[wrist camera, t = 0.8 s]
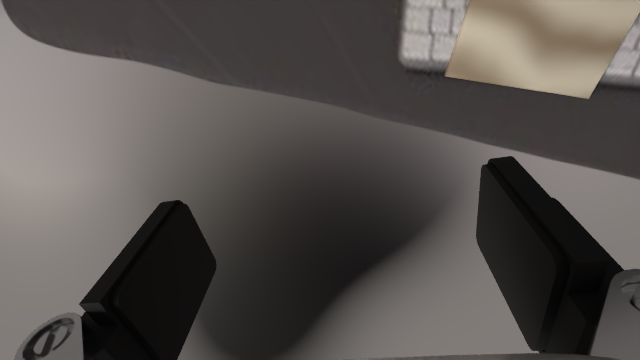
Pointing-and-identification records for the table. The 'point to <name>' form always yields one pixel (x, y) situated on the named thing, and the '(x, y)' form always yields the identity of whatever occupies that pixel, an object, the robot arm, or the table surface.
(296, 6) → the table surface
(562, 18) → the beige cloth
